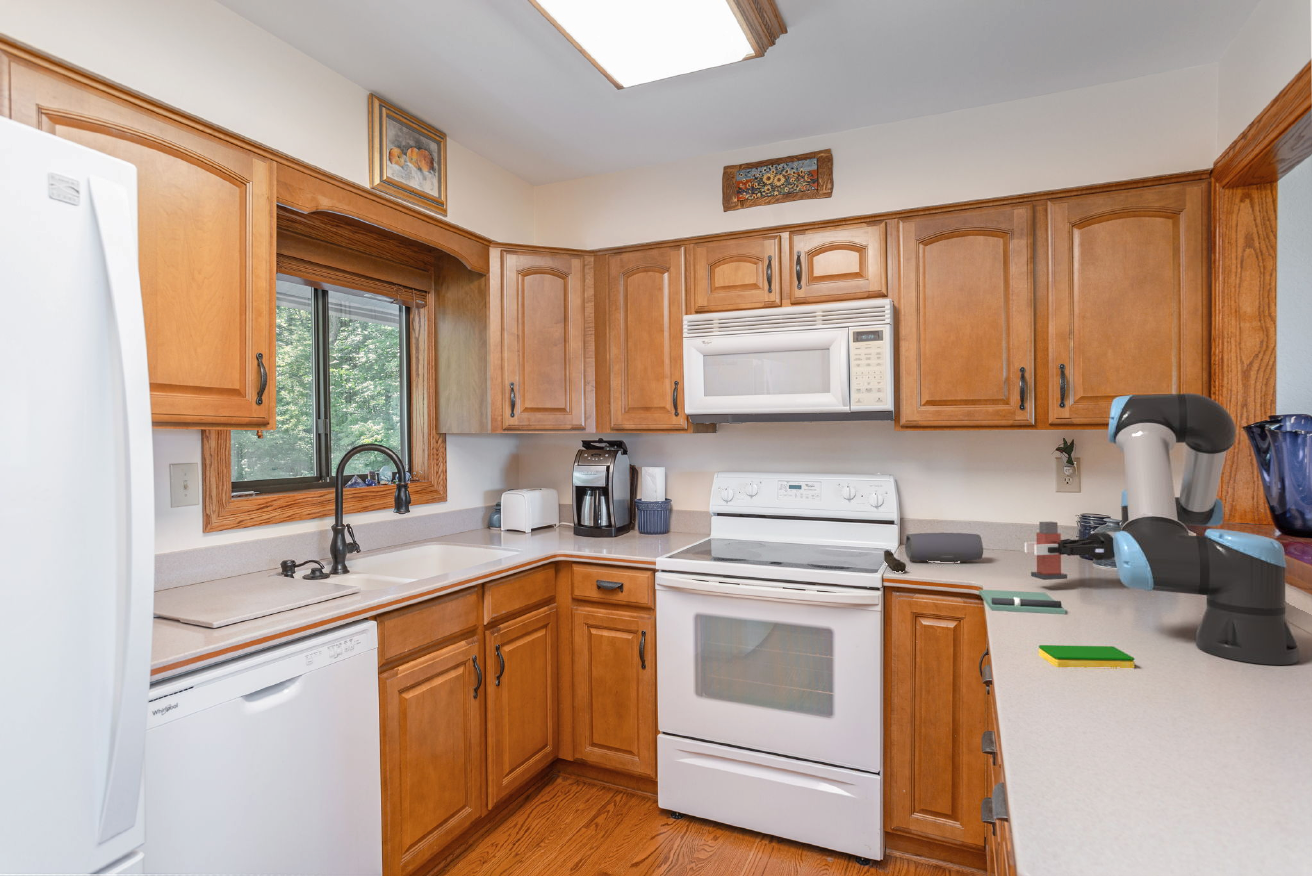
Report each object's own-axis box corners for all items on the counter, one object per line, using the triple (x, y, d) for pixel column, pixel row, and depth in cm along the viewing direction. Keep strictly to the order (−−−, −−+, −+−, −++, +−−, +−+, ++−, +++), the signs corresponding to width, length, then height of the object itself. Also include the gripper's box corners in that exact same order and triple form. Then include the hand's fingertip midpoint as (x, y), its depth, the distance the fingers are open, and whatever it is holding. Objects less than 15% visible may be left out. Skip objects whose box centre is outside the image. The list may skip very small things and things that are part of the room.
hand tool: (906, 574, 209) (906, 559, 209) (892, 574, 209) (892, 559, 209) (894, 563, 228) (894, 549, 227) (882, 563, 228) (882, 549, 228)
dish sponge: (1135, 671, 124) (1135, 658, 124) (1055, 669, 126) (1055, 656, 125) (1113, 658, 131) (1113, 645, 131) (1038, 656, 133) (1038, 644, 133)
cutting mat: (1065, 614, 161) (1065, 601, 161) (991, 610, 166) (991, 598, 166) (1045, 596, 178) (1045, 585, 178) (978, 593, 183) (978, 582, 183)
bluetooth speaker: (973, 560, 230) (973, 530, 230) (984, 565, 220) (983, 534, 220) (904, 559, 232) (904, 530, 232) (912, 565, 223) (911, 534, 223)
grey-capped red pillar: (1067, 578, 184) (1066, 522, 184) (1043, 579, 183) (1043, 523, 183) (1053, 575, 189) (1053, 520, 189) (1031, 576, 188) (1030, 521, 188)
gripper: (1131, 564, 181) (1052, 568, 177) (1084, 554, 197) (1010, 557, 193) (1131, 536, 181) (1051, 539, 177) (1084, 528, 197) (1010, 531, 193)
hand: (1030, 548), depth 185 cm, fingers closed on grey-capped red pillar, 3 cm apart
